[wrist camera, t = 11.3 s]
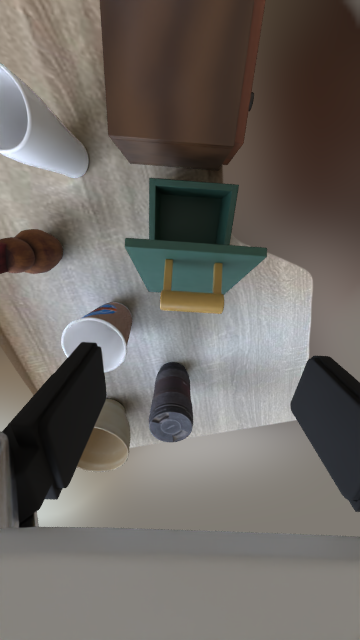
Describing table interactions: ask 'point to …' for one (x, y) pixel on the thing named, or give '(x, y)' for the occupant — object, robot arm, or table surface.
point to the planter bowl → (107, 440)
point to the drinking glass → (36, 131)
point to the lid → (192, 271)
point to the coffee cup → (102, 333)
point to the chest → (191, 211)
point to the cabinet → (174, 78)
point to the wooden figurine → (30, 252)
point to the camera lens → (171, 404)
